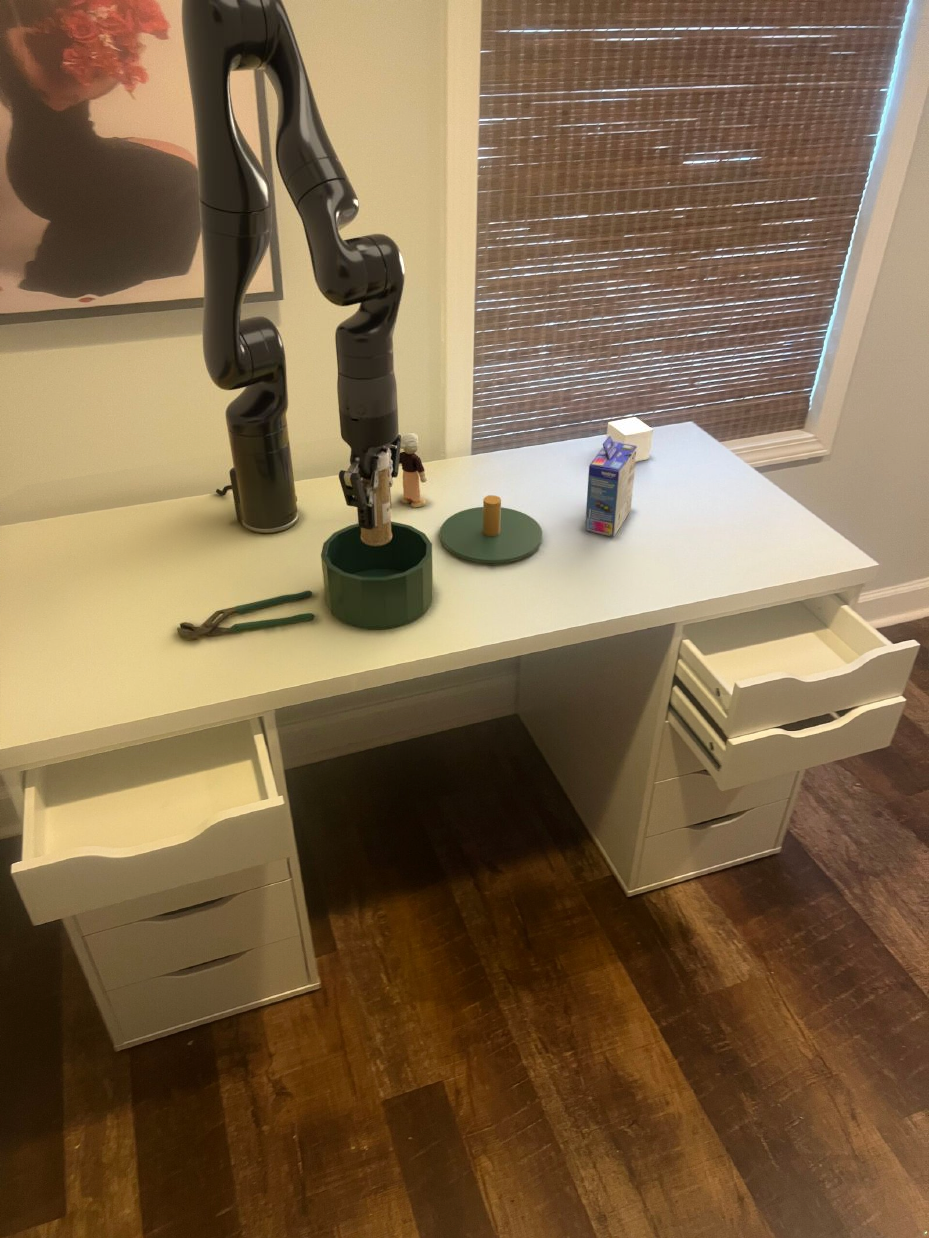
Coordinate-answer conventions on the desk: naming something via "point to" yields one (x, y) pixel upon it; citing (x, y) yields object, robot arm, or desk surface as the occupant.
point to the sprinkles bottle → (380, 508)
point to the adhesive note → (632, 435)
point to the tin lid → (491, 533)
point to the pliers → (212, 628)
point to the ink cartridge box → (610, 487)
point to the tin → (378, 577)
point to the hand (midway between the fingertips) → (375, 518)
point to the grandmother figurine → (411, 470)
